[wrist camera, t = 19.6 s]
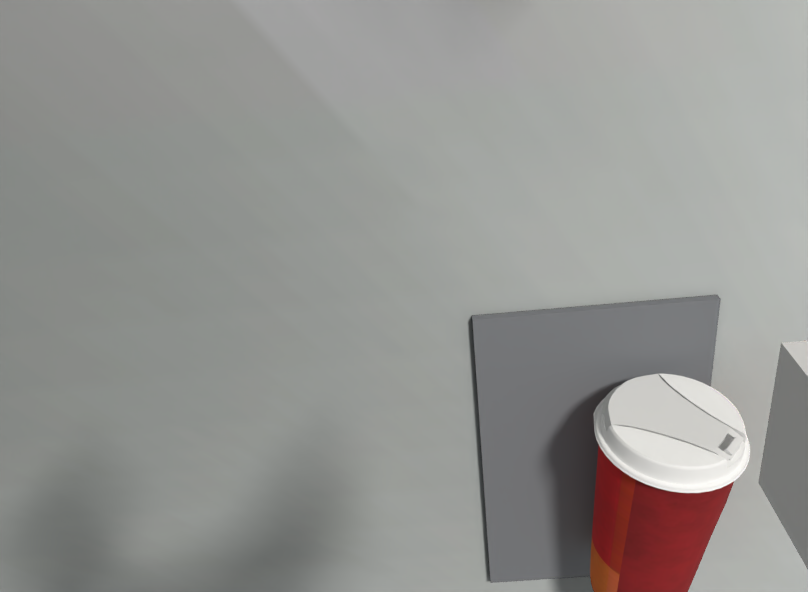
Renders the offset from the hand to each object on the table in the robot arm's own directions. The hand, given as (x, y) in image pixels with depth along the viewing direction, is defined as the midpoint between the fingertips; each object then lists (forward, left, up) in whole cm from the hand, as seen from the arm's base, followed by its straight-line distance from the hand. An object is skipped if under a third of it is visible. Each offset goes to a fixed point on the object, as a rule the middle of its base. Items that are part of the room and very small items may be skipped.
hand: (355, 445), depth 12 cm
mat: (+10, -26, -29) cm, 40 cm away
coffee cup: (+12, -34, -25) cm, 44 cm away
